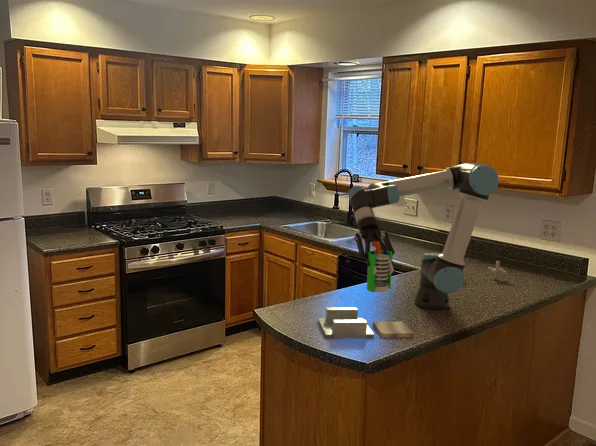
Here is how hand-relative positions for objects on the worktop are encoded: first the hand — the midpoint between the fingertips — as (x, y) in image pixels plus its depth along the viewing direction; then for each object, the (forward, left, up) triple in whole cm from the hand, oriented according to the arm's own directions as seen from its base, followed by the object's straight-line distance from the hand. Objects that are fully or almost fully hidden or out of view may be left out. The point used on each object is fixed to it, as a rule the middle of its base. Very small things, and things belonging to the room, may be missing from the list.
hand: (383, 272), depth 193 cm
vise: (+12, -7, -24) cm, 27 cm away
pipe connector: (-85, -72, -24) cm, 114 cm away
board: (-6, -3, -24) cm, 25 cm away
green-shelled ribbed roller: (0, -4, -8) cm, 8 cm away
